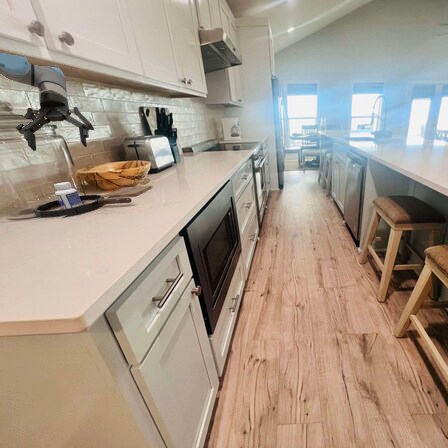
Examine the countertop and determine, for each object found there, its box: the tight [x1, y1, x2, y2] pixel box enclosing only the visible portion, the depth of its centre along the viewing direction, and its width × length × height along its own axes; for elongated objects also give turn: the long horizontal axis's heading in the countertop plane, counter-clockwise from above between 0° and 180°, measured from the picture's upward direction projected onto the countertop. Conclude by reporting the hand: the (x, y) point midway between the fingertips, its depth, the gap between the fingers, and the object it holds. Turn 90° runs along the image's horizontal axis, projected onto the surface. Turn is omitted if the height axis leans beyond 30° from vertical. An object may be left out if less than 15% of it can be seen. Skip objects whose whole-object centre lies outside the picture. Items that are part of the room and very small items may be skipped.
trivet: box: [103, 185, 153, 199], centre depth 97 cm, size 12×12×1 cm
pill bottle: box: [53, 181, 84, 209], centre depth 79 cm, size 5×5×9 cm
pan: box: [33, 194, 133, 219], centre depth 80 cm, size 28×17×3 cm, turn 93°
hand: (59, 146), depth 82 cm, fingers open, 13 cm apart
